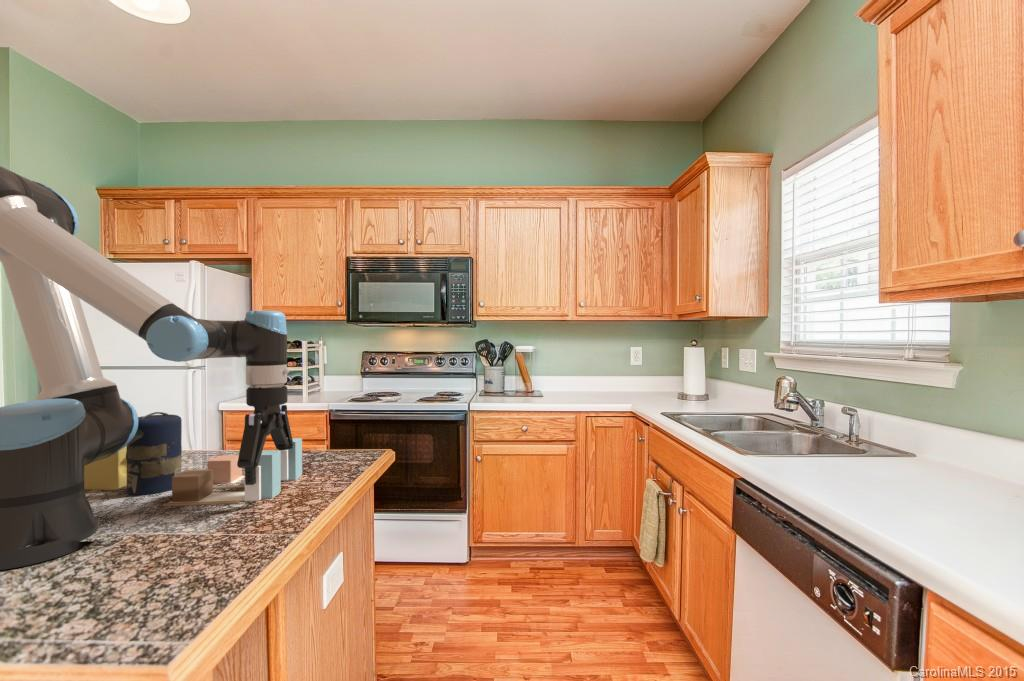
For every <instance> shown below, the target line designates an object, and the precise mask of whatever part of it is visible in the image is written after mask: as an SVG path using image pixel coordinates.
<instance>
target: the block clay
mask: <svg viewBox="0 0 1024 681" xmlns="http://www.w3.org/2000/svg"><path fill="white" fill-rule="evenodd" d="M238 458H239V454H229V455H227V454H223V455H218V456H215V457H214V458H211V459H209V460H207V461H206V462H207V464H206V466H207V469H213V483H220V484H232V483H231V482H233V481H234V480H236V479H238V478H240V477H241V476H243V475H242V473H243V468H239V467H238V466H237V463H238Z"/></svg>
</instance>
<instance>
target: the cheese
mask: <svg viewBox="0 0 1024 681" xmlns="http://www.w3.org/2000/svg"><path fill="white" fill-rule="evenodd" d="M126 451H127V445H126V446H125V447H124V448H122V449H121V450H119V451H118V452H116V453H115V454H113V455H111V456H110V457H107V458H104V459H100V460H97V461H95V462H92V463H90V464H88V465H85V466H84V489H85V490H91V491H92V490H93V491H94V490H95V491H101V490H103V491H115V490H118V489H120V488H123V487H125V486H127V472H126V471H127V459H126Z"/></svg>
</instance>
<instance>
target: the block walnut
mask: <svg viewBox="0 0 1024 681" xmlns="http://www.w3.org/2000/svg"><path fill="white" fill-rule="evenodd" d="M213 486H214V484H213V469H205V468H203V469H186V470H184V471H183V472H182V471H181V473H180V474H177V475H175V476H173V477H172V490H171V501H172V502H192V501H200V500H202V499H203V498H205V497H207V496H209V495H210V494H212V493H214V489H213Z"/></svg>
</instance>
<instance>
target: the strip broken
mask: <svg viewBox="0 0 1024 681" xmlns="http://www.w3.org/2000/svg"><path fill="white" fill-rule="evenodd" d="M287 439H288V438H287ZM292 439H293V443H292V444H293V448H292V449H287V450H288V480H281V482H282V481H283V482H287V481H288V482H289V481H298V479H299V478H300V477H302V476H303V437H298V438H297V437H295V438H293V437H292ZM242 479H244V475H242V476H241V477H240V478H238V479H236V480H234V481H233V482H231V483H230V484H236V483H238V482H239V481H241V480H242ZM214 484H219V485H220V484H221V483H213V485H214Z"/></svg>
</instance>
